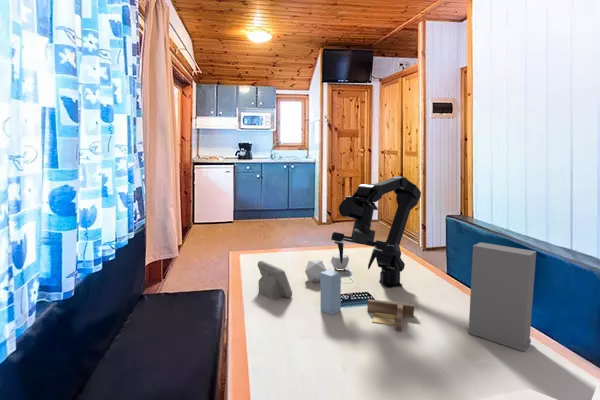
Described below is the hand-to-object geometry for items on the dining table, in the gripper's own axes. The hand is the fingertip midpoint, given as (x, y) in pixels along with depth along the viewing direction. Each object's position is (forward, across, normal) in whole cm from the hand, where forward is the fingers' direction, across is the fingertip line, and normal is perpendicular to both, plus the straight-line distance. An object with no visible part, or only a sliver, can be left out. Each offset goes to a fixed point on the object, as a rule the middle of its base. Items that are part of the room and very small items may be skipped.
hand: (354, 266), depth 127 cm
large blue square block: (+15, -5, -7) cm, 17 cm away
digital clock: (+16, -26, +5) cm, 31 cm away
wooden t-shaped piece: (+13, +13, -12) cm, 22 cm away
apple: (+6, -5, +34) cm, 34 cm away
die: (+11, -13, +19) cm, 26 cm away
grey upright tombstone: (+9, +41, -20) cm, 46 cm away
